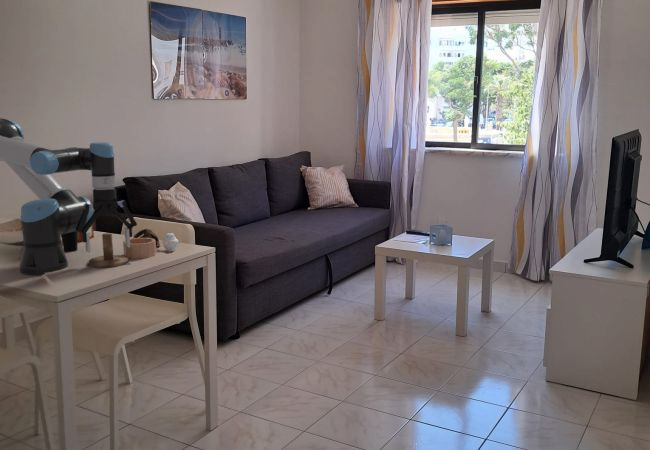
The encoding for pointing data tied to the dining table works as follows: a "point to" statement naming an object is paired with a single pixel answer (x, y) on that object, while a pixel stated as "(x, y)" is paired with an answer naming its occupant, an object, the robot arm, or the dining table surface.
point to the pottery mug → (147, 235)
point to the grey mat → (100, 268)
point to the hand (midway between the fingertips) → (108, 249)
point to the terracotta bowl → (140, 248)
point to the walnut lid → (108, 255)
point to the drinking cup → (70, 241)
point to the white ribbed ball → (170, 242)
